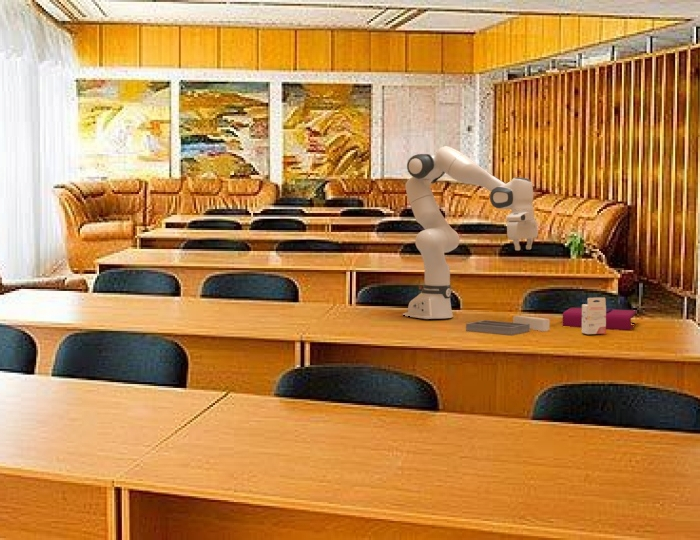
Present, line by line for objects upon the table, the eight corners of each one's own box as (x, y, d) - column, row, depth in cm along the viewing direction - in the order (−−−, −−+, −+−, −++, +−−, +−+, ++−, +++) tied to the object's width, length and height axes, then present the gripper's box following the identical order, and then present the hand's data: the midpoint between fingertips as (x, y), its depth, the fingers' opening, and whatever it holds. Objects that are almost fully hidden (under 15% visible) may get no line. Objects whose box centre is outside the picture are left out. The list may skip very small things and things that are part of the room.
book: (630, 332, 437) (630, 314, 436) (562, 328, 447) (562, 310, 446) (636, 326, 456) (636, 308, 456) (570, 323, 466) (570, 305, 466)
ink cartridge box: (599, 332, 434) (600, 296, 432) (605, 333, 429) (606, 297, 428) (580, 332, 431) (581, 296, 430) (586, 334, 426) (587, 297, 425)
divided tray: (466, 330, 435) (466, 323, 435) (484, 327, 447) (484, 320, 447) (511, 335, 422) (511, 327, 422) (529, 331, 434) (529, 324, 434)
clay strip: (513, 328, 447) (513, 316, 447) (519, 327, 450) (519, 315, 450) (543, 331, 435) (543, 319, 435) (549, 331, 438) (549, 319, 438)
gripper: (527, 216, 451) (528, 248, 452) (504, 217, 435) (504, 250, 435) (541, 216, 447) (541, 248, 448) (517, 216, 431) (518, 250, 432)
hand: (523, 249), depth 441 cm, fingers open, 8 cm apart
